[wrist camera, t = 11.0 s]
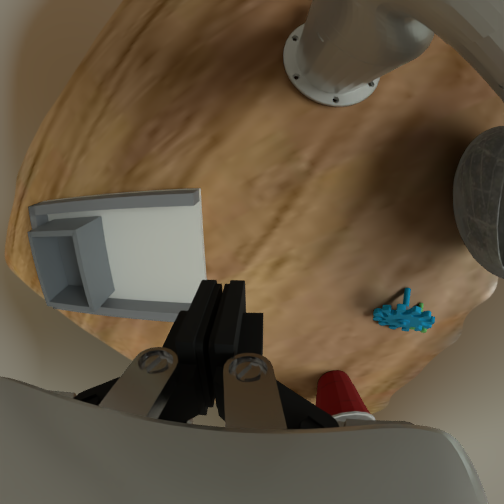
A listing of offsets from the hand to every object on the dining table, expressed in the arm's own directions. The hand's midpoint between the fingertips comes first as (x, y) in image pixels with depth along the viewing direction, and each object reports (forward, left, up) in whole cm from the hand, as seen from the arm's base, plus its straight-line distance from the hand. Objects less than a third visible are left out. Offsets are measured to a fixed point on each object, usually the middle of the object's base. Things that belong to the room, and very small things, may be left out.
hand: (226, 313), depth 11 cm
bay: (+8, -21, -27) cm, 35 cm away
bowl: (-3, +35, -27) cm, 44 cm away
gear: (+17, +23, -27) cm, 39 cm away
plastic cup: (+33, +14, -27) cm, 45 cm away
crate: (+8, -27, -26) cm, 38 cm away
